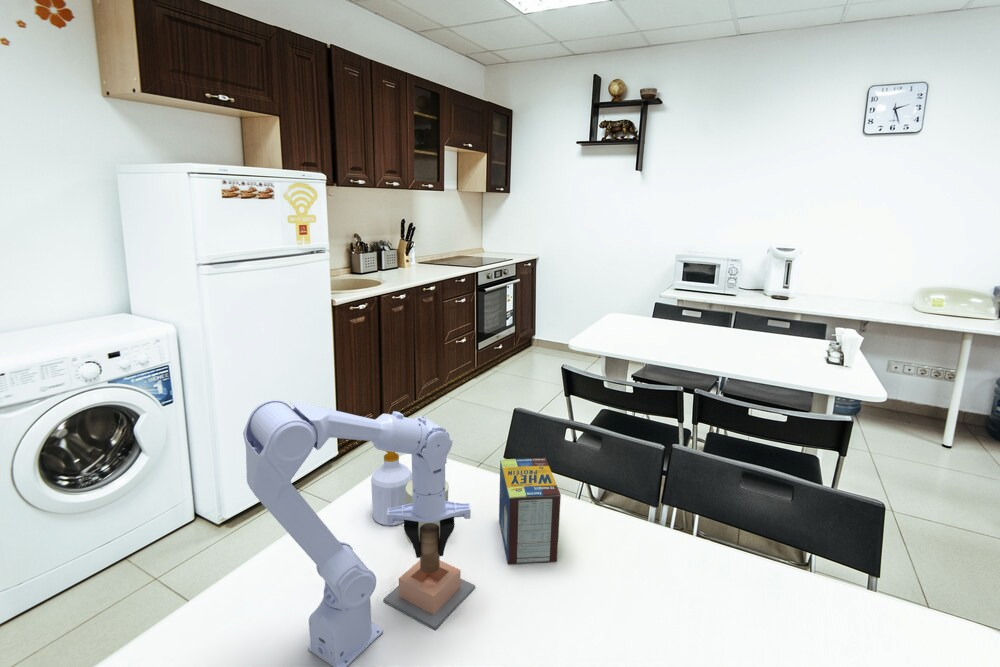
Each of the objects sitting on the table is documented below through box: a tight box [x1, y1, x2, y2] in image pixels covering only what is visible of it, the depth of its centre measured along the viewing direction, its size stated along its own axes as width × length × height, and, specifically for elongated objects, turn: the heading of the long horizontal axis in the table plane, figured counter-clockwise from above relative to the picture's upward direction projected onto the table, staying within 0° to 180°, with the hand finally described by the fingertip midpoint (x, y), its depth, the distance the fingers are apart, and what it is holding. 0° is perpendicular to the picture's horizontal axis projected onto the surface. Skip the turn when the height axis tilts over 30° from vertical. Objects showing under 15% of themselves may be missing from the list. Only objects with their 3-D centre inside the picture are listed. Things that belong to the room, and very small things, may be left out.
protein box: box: [498, 457, 562, 565], centre depth 113 cm, size 10×15×16 cm
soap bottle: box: [370, 413, 412, 526], centre depth 120 cm, size 9×9×25 cm
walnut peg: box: [419, 523, 441, 573], centre depth 97 cm, size 4×4×8 cm
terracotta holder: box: [382, 559, 476, 631], centre depth 99 cm, size 12×12×4 cm
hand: (429, 553), depth 97 cm, fingers closed on walnut peg, 3 cm apart
